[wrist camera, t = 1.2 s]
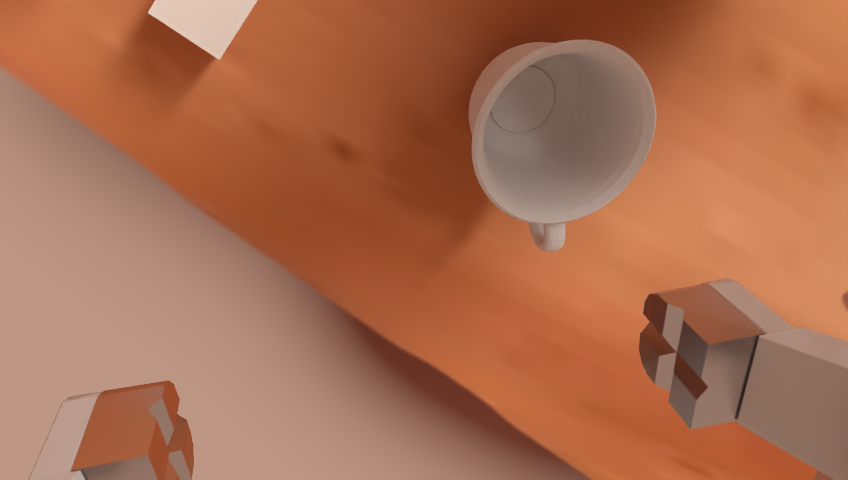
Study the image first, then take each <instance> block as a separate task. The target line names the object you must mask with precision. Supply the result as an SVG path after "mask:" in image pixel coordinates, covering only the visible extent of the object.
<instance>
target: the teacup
mask: <svg viewBox="0 0 848 480" xmlns="http://www.w3.org/2000/svg"><path fill="white" fill-rule="evenodd" d="M468 115H469V124H470V129H471V134H472V149H471V150H472V162H473V166H474V171H475V174H476V177H477V179H478V182H479V184H480V186H481V188H482V189H483V191H484V193H485V194H486V195H487V197H488V198H489V199H490V201H491V202H492V203H493V204H494V205H495V206H496V207H498V208H499V209H500V210H501V211H503V212H504V213H506V214H507V215H509V216H511V217H513V218H515V219H518V220H521V221H524V222H528V223H529V227H530V232H531V235H532V237H533V240H534V242H535V244H536V245H537V246H538V247H539V248H540V249H541V250H543V251H547V252H553V251H557V250H559V249H560V248H562V247H563V245H564V242H565V237H566V230H565V222H570V221H573V220H576V219H580V218H582V217H585V216H587V215H590V214H592V213H594V212H595V211H597V210H599V209H601V208H602V207H604V206H605V205H607V204H608V203H609V202H611V201H612V200H613V199H614V198H616V197H617V196H618V195H619V194H620V193H621V192H622V191H623V190H624V189H625V188H626V187H627V186H628V185H629V183H630V182H631V181H632V179H633V178H634V177H635V175H636V174H637V173H638V171H639V169H640V168H641V166H642V164H643V163H644V161H645V159H646V157H647V154H648V152H649V150H650V147H651V144H652V141H653V137H654V133H655V127H656V104H655V98H654V94H653V91H652V88H651V85H650V82H649V80H648V78H647V76H646V74H645V73H644V71H643V70H642V68H641V67H640V66H639V64H638V63H637V62H636V61H635V60H634V59H633V58H632V57H631V56H630V55H628V54H627V53H626V52H624V51H623V50H621V49H619V48H617V47H615V46H613V45H611V44H608V43H604V42H601V41H595V40H587V39H585V40H568V41H562V42H558V43H550V42H532V43H525V44H522V45H518V46H515V47H513V48H510V49H508V50H506V51H504V52H503V53H501V54H499V55H498V56H497V57H496V58H494V59H493V60H492V61H491V62H490V63H489V64H488V65H487V66H486V68H485V69H484V70H483V71H482V73H481V74H480V76H479V78H478V79H477V81H476V83H475V86H474V88H473V91H472V94H471V98H470V102H469V113H468Z"/></svg>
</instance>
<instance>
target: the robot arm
mask: <svg viewBox="0 0 848 480" xmlns="http://www.w3.org/2000/svg"><path fill="white" fill-rule="evenodd" d="M643 314H644V315H645V316H646V318H647V319H648V320H649V323H648V325H647V326H646V327H645V328H644V330H643V331H642V332H641V333H640V342H639V352H640V356H641V361H642V365H643V367H644V369H645V371H646V373H647V375H648V376H649V377H650V379H651V380H652V381H653V383H654V384H655V385H657V386H660V387H662V388H664V389H666V390H668V391H670V395H669V403H670V404H671V405H672V407H673V408H674V409H675V410H676V412H677V413H678V414H679V415H680V417H681V418H682V419H683V420H684V422H685V423H686V424H687V425H688V427H689V428H690V429H695V428H701V427H706V426H711V425H717V424H722V423H727V422H732V421H737V423H738V424H739V425H741V426H743V427H744V428H746V429H748V430H750V431H751V432H753V433H755V434H757V435H758V436H760V437H762V438H763V439H765V440H767V441H769V442H770V443H772V444H774V445H775V446H777V447H779V448H781V449H782V450H784V451H786V452H787V453H789V454H791V455H793V456H794V457H796V458H798V459H799V460H801V461H803V462H805V463H806V464H808V465H810V466H812V467H813V468H815V469H817V470H818V471H820V472H822V473H824V474H825V475H827V476H829V477H830V478H832V479H834V480H848V342H846V341H843V340H840V339H837V338H834V337H831V336H828V335H825V334H822V333H819V332H816V331H813V330H810V329H807V328H804V327H802V328H796V329H795V328H794V327H792V326H791V325H790V324H789V323H787V322H786V321H785V320H784V319H782V318H781V317H780V316H779V315H778V314H776V313H775V312H774V311H773V310H771V309H770V308H769V307H768V306H766V305H765V304H764V303H763V302H761V301H760V300H759V299H758V298H756V297H755V296H754V295H753V294H752V293H750V292H749V291H748V290H747V289H745V288H744V287H743V286H742V285H740V284H739V283H738V282H737V281H735V280H732V279H728V278H725V279H720V280H716V281H711V282H706V283H701V284H700V285H695V286H690V287H684V288H679V289H674V290H668V291H663V292H657V293H652V294H649V295H648V297H647V299H646V300H645V304H644V311H643ZM178 405H179V397H178V394H177V392H176V390H175V386H174V384H173V383H171V382H170V381H164V382H157V383H151V384H144V385H138V386H132V387H126V388H119V389H114V390H107V391H103V392H97V393H90V394H85V395H79V396H73V397H69V398H68V399H66V400H65V401H64V402H63V403H62V404H61V407H60V409H59V411H58V414H57V416H56V418H55V420H54V423H53V425H52V427H51V430H50V432H49V434H48V436H47V439H46V441H45V443H44V446H43V448H42V450H41V453H40V455H39V457H38V460H37V462H36V464H35V466H34V468H33V471H32V473H31V475H30V477H29V480H192V473H193V466H194V457H193V442H192V437H191V432H190V429H189V426H188V423H187V420H186V419H184V418H182V417H181V416H179V415H178V414H177V410H178Z"/></svg>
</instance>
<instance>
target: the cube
mask: <svg viewBox="0 0 848 480" xmlns="http://www.w3.org/2000/svg"><path fill="white" fill-rule="evenodd" d="M256 2H257V0H155V1H154V3H153V5H152V7H151V8H150V10H149V12H148V13H149V14H150V15H152V16H153V17H155V18H156V19H158V20H159V21H161V22H162V23H164V24H165V25H167V26H168V27H170V28H172V29H173V30H175V31H176V32H178V33H179V34H181V35H182V36H184V37H185V38H187V39H188V40H190V41H191V42H193V43H194V44H196V45H197V46H199V47H200V48H202V49H203V50H205V51H206V52H208V53H209V54H211V55H213V56H214V57H216V58H217V59H219V60H220V58H221V57H222V55H223V54H224V52H225V51H226V49H227V47H228V46H229V44H230V43H231V41H232V40H233V38H234V36H235V35H236V33H237V32H238V30H239V29H240V27H241V25H242V24H243V22H244V21H245V19H246V18H247V16H248V14H249V13H250V11H251V10H252V8H253V7H254V5H255V3H256Z"/></svg>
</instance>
